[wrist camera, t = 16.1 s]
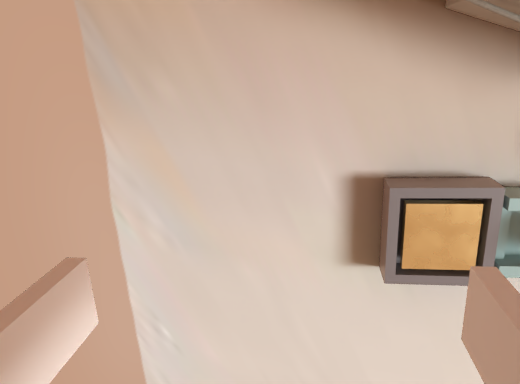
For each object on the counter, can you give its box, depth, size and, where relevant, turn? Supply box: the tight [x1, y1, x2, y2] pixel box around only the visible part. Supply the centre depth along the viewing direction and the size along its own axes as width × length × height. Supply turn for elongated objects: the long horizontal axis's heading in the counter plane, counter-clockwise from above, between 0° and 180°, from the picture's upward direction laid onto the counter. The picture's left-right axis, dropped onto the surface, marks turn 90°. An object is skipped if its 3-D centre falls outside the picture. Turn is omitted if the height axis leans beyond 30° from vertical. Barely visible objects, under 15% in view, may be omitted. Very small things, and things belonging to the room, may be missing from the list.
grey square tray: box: [379, 177, 505, 286], centre depth 40 cm, size 10×10×4 cm
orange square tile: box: [400, 200, 483, 270], centre depth 39 cm, size 7×7×1 cm
